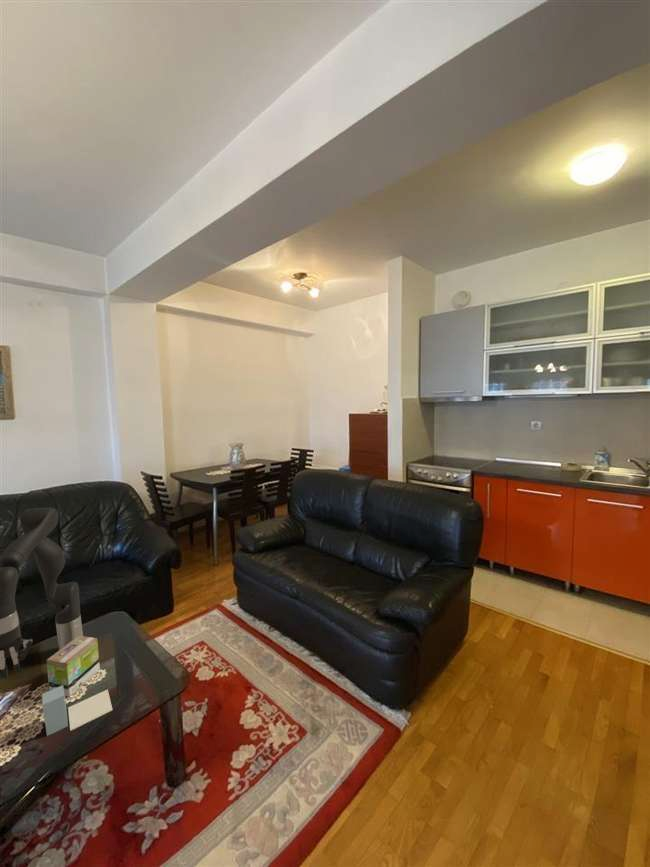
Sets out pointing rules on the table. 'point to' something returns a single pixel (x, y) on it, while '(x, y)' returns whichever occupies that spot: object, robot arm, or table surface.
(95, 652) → the tea box
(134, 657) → the table surface
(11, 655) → the robot arm
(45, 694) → the pale blue-gray rectangular block
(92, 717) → the felt mat
